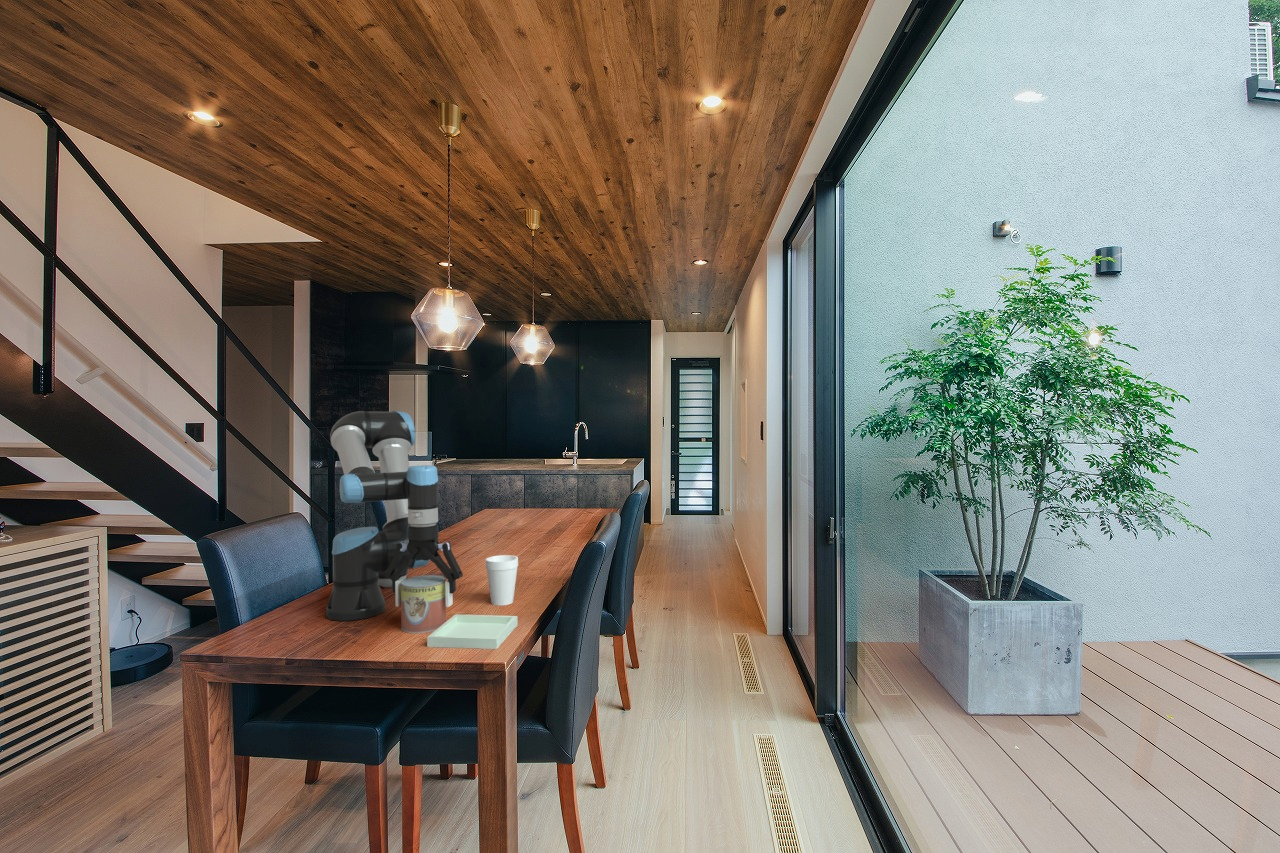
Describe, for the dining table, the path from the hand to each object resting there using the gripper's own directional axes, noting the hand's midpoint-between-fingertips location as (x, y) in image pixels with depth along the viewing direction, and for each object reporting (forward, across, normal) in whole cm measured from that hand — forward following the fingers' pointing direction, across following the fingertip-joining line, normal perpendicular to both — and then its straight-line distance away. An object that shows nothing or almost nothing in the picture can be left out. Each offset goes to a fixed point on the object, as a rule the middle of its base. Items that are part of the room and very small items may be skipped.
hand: (424, 605), depth 162 cm
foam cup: (+6, +14, +22) cm, 27 cm away
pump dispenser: (+5, -28, +37) cm, 47 cm away
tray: (+6, +16, -6) cm, 18 cm away
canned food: (+6, 0, 0) cm, 6 cm away
